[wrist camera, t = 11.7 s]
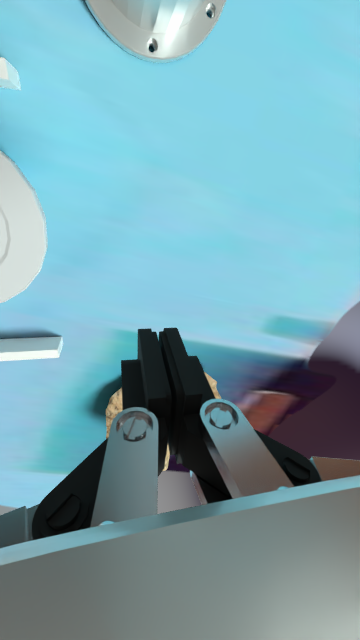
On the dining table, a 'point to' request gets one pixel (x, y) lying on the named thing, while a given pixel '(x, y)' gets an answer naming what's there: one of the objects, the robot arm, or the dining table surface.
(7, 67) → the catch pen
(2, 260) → the lid
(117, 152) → the dining table surface
